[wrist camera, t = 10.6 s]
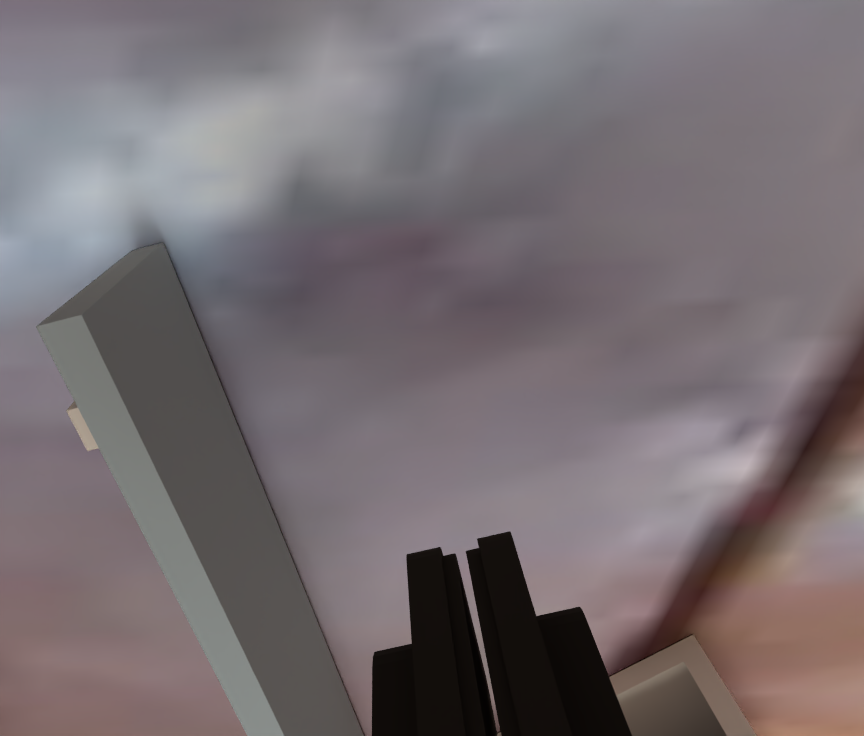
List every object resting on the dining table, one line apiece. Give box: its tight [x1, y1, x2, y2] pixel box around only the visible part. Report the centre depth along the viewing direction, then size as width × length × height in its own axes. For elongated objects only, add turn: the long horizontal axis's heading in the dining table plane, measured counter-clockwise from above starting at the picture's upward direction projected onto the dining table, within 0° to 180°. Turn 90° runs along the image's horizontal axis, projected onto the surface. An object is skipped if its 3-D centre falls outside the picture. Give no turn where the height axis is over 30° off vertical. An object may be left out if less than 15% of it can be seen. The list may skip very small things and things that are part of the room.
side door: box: [36, 243, 364, 736], centre depth 23 cm, size 28×2×7 cm, turn 13°
